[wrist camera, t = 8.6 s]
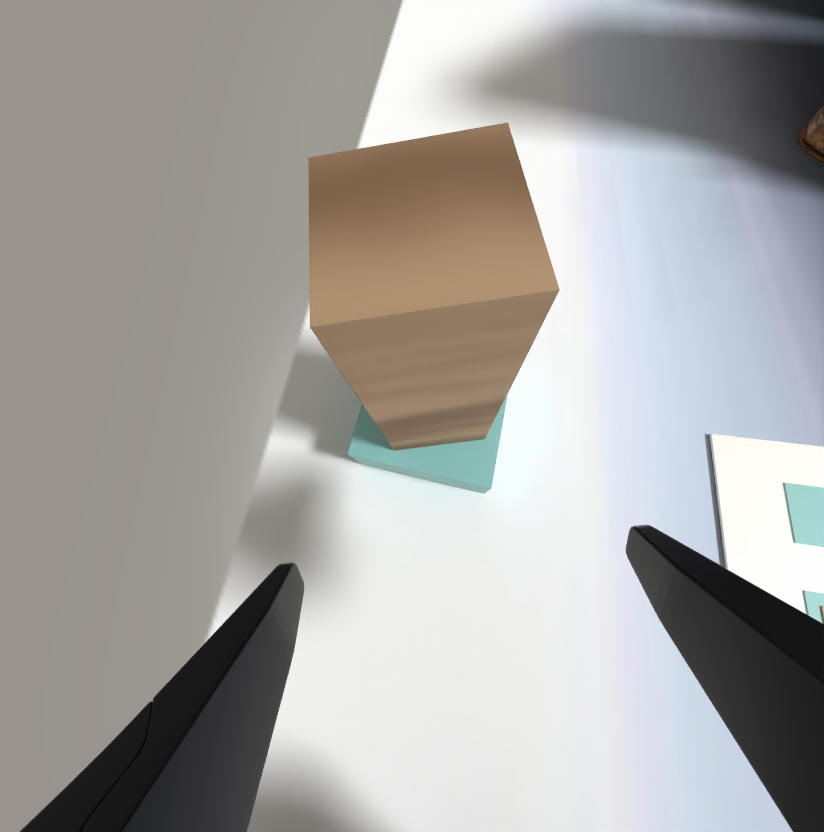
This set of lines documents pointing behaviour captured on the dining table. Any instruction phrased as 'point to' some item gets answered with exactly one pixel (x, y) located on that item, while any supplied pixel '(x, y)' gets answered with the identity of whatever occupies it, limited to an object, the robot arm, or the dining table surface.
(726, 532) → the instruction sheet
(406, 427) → the column brick
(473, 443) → the base brick
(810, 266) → the dining table surface
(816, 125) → the book
